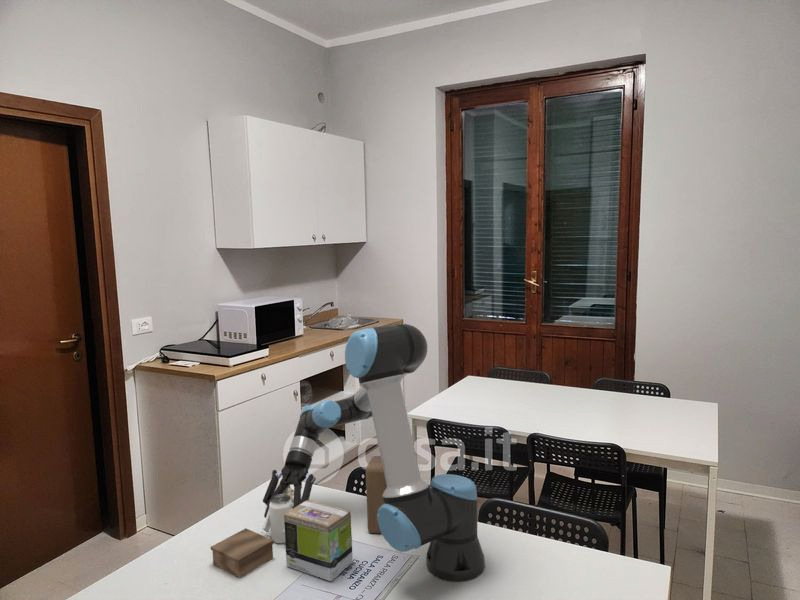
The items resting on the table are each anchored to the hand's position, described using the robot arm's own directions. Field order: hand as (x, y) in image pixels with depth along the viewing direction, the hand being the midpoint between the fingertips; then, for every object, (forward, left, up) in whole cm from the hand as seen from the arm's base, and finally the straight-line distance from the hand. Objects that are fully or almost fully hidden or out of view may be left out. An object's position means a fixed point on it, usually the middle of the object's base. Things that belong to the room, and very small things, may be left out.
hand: (275, 531), depth 160 cm
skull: (+16, -18, -4) cm, 25 cm away
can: (+1, -3, -4) cm, 6 cm away
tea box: (-17, 0, -4) cm, 18 cm away
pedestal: (+1, +11, -4) cm, 11 cm away
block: (-20, -25, -4) cm, 32 cm away
